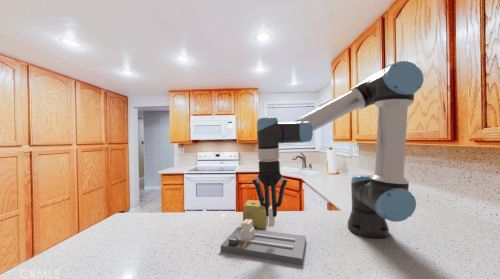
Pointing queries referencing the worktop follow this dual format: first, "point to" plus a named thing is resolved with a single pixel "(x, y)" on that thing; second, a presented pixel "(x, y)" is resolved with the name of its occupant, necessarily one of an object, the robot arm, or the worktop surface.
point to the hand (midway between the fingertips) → (271, 225)
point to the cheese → (255, 213)
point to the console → (267, 246)
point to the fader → (247, 230)
